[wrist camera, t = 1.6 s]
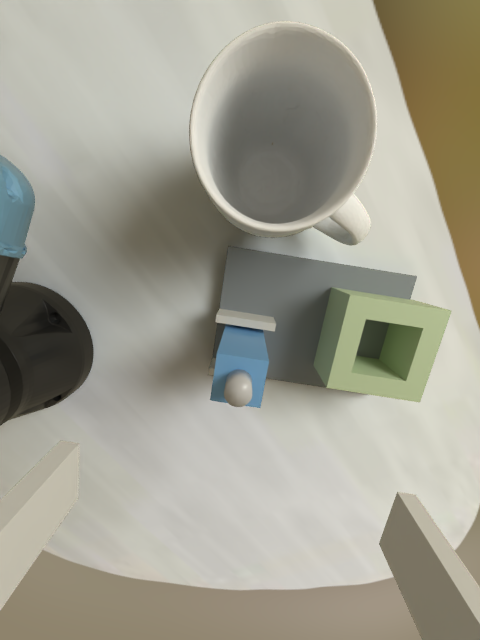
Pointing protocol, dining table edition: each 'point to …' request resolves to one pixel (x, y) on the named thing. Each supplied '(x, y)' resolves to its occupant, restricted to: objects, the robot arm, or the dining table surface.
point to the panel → (297, 306)
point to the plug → (240, 367)
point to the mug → (285, 133)
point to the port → (398, 349)
